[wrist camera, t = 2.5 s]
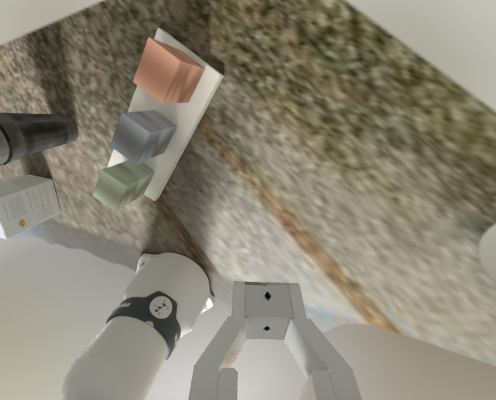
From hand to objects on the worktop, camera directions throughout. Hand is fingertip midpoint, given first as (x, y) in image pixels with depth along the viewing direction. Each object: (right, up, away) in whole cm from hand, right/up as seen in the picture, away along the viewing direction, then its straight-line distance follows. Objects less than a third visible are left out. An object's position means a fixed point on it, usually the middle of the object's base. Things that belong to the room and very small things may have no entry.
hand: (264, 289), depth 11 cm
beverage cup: (-33, +17, +30) cm, 48 cm away
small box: (-43, +5, +38) cm, 58 cm away
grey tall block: (-14, +15, +25) cm, 32 cm away
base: (-15, +16, +26) cm, 34 cm away
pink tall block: (-9, +21, +21) cm, 31 cm away
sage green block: (-19, +8, +29) cm, 35 cm away
